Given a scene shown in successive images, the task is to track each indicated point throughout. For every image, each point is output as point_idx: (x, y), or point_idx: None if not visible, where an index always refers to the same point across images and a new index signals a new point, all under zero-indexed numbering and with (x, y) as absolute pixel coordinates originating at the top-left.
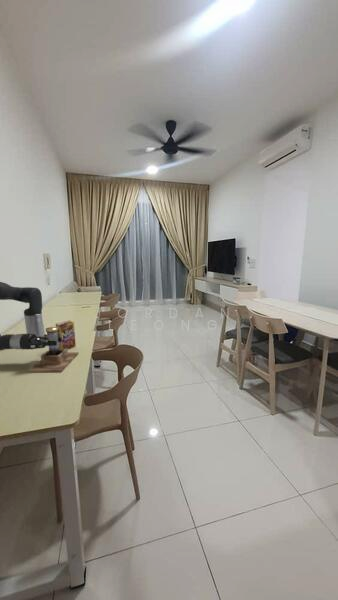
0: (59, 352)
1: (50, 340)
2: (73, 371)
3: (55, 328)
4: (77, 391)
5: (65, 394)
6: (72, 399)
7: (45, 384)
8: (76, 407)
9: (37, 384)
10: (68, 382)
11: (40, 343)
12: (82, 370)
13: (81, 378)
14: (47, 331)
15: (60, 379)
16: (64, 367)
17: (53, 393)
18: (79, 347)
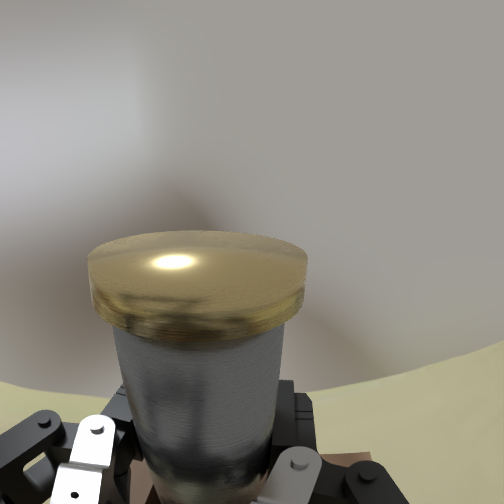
0: (157, 494)
1: (272, 424)
2: (350, 418)
3: (224, 235)
4: (458, 362)
5: (483, 376)
6: (486, 357)
7: (479, 454)
8: (496, 343)
9: (492, 480)
10: (434, 398)
11: (399, 495)
12: (335, 392)
13: (396, 377)
14: (300, 300)
15: (428, 430)
16: (330, 456)
17: (498, 400)
18: (15, 419)
